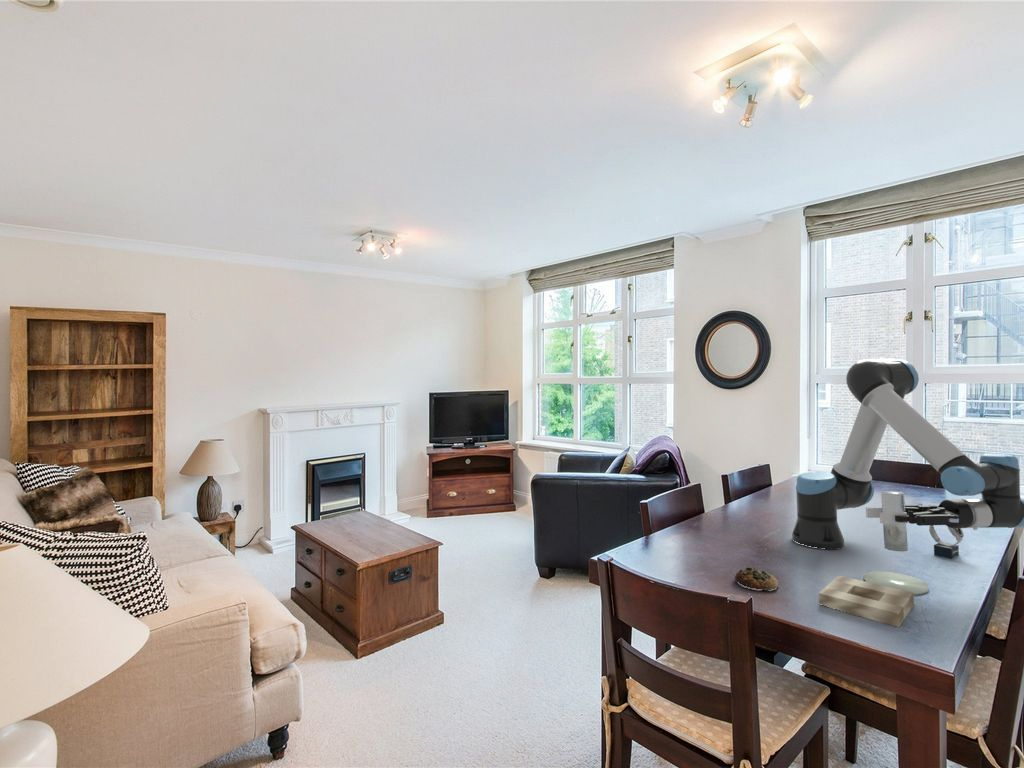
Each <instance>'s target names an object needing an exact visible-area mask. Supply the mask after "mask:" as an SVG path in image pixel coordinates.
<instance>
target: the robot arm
mask: <svg viewBox="0 0 1024 768" xmlns="http://www.w3.org/2000/svg"><path fill="white" fill-rule="evenodd" d="M912 364H913V363H910V362H909V361H907V360H904V359H900V358H899V359H898V358H892V357H891V358H876V359H875V358H868V359H861V360H859V361H857V362H855V363H854V364H853V365H851V366H850V367H849V369H848V371H847V374H846V377H845V378H846V379H845V380H846V384H847V385H846V386H847V388H848V390H849V392H850V393H851V394H852V396H853V397H854V398H855V399H856V400H857V401H858V403H860V407H859V409H858V411H857V414H856V417H855V420H854V422H853V423H854V424H853V425H852V429H851V431H850V434H849V437H848V439H847V442H846V445H845V447H844V450H843V453H842V455H841V459H840V461H839V462H836V463H834V464H833V466H832V468H831V471H830V472H827V471H815V472H814V471H809V472H808V471H807V472H805V473H801V474H800V475H798V476H797V478H796V484H795V489H796V510H797V511H796V512H797V513H796V515H797V516H796V517H797V518H796V522H795V525H794V526H793V527H794V528H793V531H792V533H791V536H792V539H793V540H794V541H796V542H798V543H800V544H804V545H807V546H811V547H817V548H825V549H824V550H829V549H831V550H838V549H837V548H840V549H843V548H844V547H845V539H844V535H843V534H842V530H841V528H840V526H839V523H838V510H843V509H851V508H852V509H855V508H859V507H863V506H865V505H866V504H869V503H870V501H871V500H872V499H873V497H874V494H875V487H874V485H873V481H872V480H873V477H872V475H871V473H870V469H871V467H872V464H873V461H874V459H875V458H876V455H877V453H878V449H879V447H880V444H881V441H882V440H883V436H884V434H885V431H886V428H887V426H890V428H892V430H893V431H895V432H896V433H897V434H898V435H899V436H900V437H901V438H902V439H903V440H904V441H906V442H907V444H908V445H910V446H911V448H913V450H915V451H916V452H917V454H919V455H920V456H921V457H922V458H923V459H925V461H926V462H927V463H928V464H929V465H931V467H933V469H935V470H936V471H937V472H938V473H939V474H940V481H941V484H942V487H943V488H944V489H945V490H946V491H947V492H949V493H950V494H952V495H955V496H959V497H960V496H961V497H962V496H963V497H966V496H967V497H968V496H971V497H972V496H973V497H974V496H976V495H980V494H981V498H961V499H958V498H957V499H944V500H942V501H941V502H940V503H939V505H934V504H928V505H923V504H922V503H916V504H915V503H914V504H905V512H885V513H882V506H875V507H873V506H871V507H867V506H866V507H865V518H867V519H874V518H875V519H877V518H879V523H880V524H882V525H883V523H906V524H912V525H913V524H914V525H916V526H919V527H921V526H930V525H933V526H947V528H948V527H950V528H961V529H973V530H975V531H977V530H978V529H979V528H980V529H981V528H984V529H985V528H987V529H989V528H993V529H994V528H995V529H996V528H998V529H999V528H1006V529H1007V528H1008V529H1013V528H1022V527H1024V499H1023V498H1021V487H1020V486H1021V481H1020V479H1021V477H1020V476H1021V475H1020V472H1021V468H1020V465H1019V464H1020V463H1019V459H1018V457H1017V456H1015V455H1012V454H1008V453H991V452H990V453H983V454H981V455H980V456H979V461H978V463H976V462H974V461H973V460H972V459H971V458H970V457H969V456H967V455H966V454H965V453H963V451H961V450H960V449H959V448H958V447H957V446H956V445H955V444H953V442H951V441H950V440H949V439H948V438H947V437H946V436H945V435H943V434H942V432H940V431H939V430H938V429H937V428H936V427H935V426H934V425H932V424H931V423H930V422H929V421H928V420H927V419H926V418H924V416H922V415H921V414H920V413H919V412H918V411H917V410H916V409H914V408H913V407H912V405H910V404H909V403H908V402H907V401H906V400H905V396H906V395H908V394H910V393H913V391H914V390H915V389H917V386H918V384H919V380H920V379H919V373H918V370H916V368H915V366H914V365H912ZM793 540H792V541H793ZM794 541H793V542H794ZM842 547H843V548H842Z"/></svg>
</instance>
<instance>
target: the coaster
mask: <svg viewBox="0 0 1024 768" xmlns="http://www.w3.org/2000/svg"><path fill="white" fill-rule="evenodd" d="M864 580H865V582H870V583H874V584H878V585H883V586H887V587H892V588H896V589H900V590H905V591H909V592H914V596H915V595H916V596H917V595H918V596H919V595H925V594H927V593H928V592H929V591H930V590H929V589H930V587H929V584H928V583H926V582H925V581H924V580H922V579H919V578H917V577H914V576H911V575H906V574H903V573H899V572H892V571H882V570H881V571H879V570H878V571H877V570H875V571H869V572H866V573H863V581H864Z"/></svg>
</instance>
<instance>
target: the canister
mask: <svg viewBox="0 0 1024 768" xmlns="http://www.w3.org/2000/svg"><path fill="white" fill-rule="evenodd" d="M880 495H881V497H880V498H881V507H882V513H885V512H905V505H906V504H905V503H906V501H905V493H904V492H902V491H893V490H886V491H885V490H884V491H881V492H880ZM882 525H883V526H882V530H883V541H884V549H886V550H888V551H892V552H900V553H901V552H903V553H904V552H908V550H909V548H908V547H909V546H908V545H909V544H908V533H907V531H908V530H907V523H883V524H882Z"/></svg>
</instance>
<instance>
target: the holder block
mask: <svg viewBox="0 0 1024 768" xmlns="http://www.w3.org/2000/svg"><path fill="white" fill-rule="evenodd" d="M818 603H819V604H822V605H825V606H828V607H831V608H835V609H839V610H842V611H845V612H844V613H846V612H849V613H851V614H850V615H853V614H854V616H857V617H860V616H861V618H865V619H868V620H872V621H875V622H880V623H883V624H886V625H890V626H893V627H897V628H899V627H900V626H901V625H902V623H903V622H904V621H905V619H906V618H907V616H908V615H909V613H910V611H911V610H912V608H913V607H914V606H915V595H914V592H909V591H905V590H900V589H896V588H892V587H887V586H883V585H878V584H874V583H870V582H865V581H864V580H860V579H857V578H856V579H855V578H851V577H848V576H842V575H837V577H836V578H834V579H833V580H832V581H831V582H830V583H829V584H827V585H826V586H825V587H824V588H823V589H822V590H820V591H819V593H818ZM831 608H830V609H831ZM835 609H834V610H835ZM842 611H841V612H842ZM849 613H848V614H849Z"/></svg>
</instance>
